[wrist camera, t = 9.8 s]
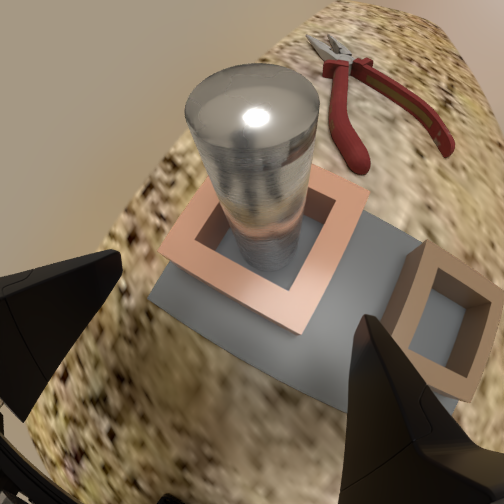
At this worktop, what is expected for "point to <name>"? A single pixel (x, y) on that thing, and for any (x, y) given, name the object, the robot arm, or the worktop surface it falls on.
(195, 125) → the peg
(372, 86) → the pliers
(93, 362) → the worktop surface
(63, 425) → the worktop surface
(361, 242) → the dock plate
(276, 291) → the socket
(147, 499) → the worktop surface
